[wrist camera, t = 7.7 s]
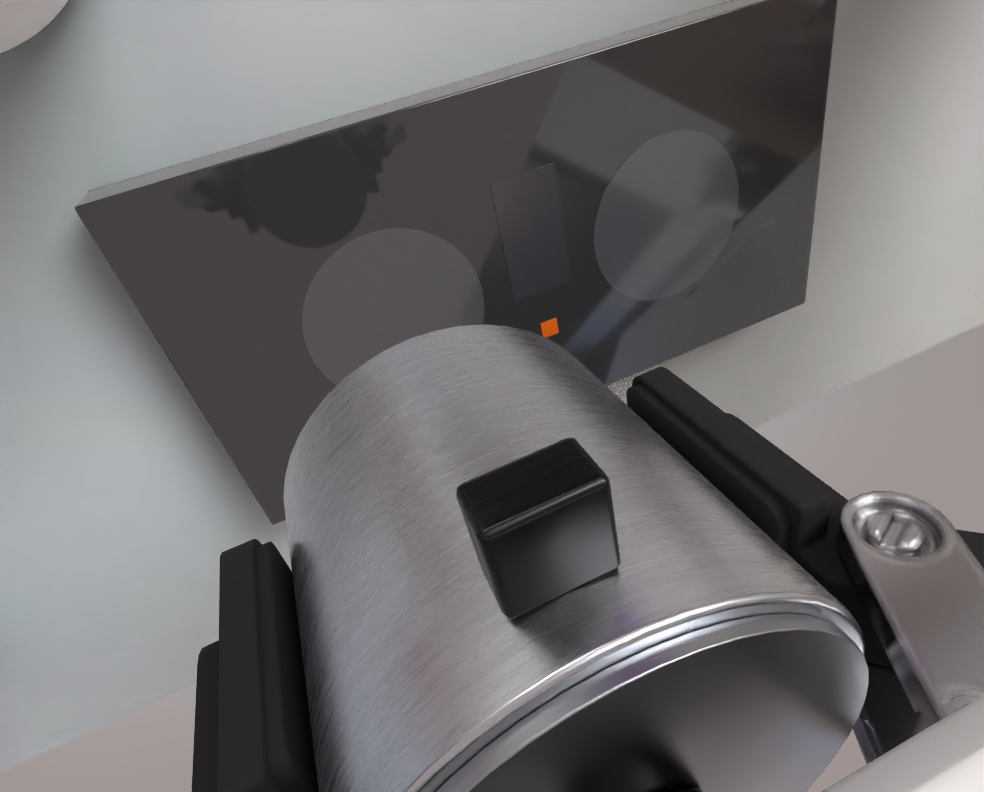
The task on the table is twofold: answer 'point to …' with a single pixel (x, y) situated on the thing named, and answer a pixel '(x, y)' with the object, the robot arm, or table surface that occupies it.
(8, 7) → the coffeepot
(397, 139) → the hot plate
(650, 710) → the pot
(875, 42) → the table surface
